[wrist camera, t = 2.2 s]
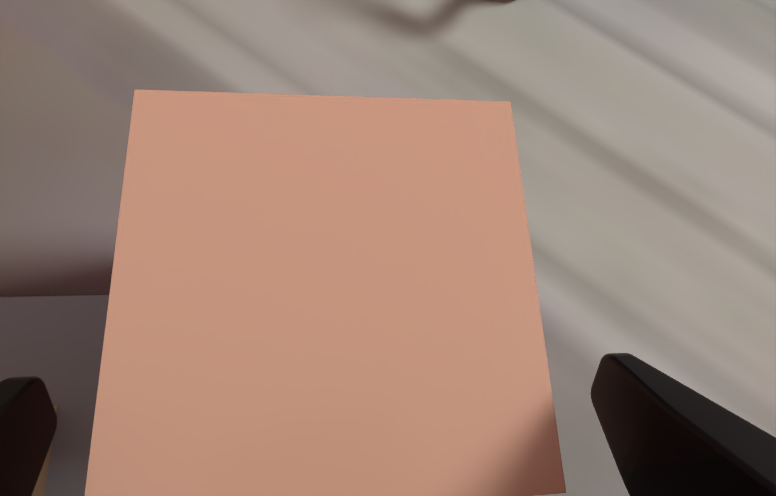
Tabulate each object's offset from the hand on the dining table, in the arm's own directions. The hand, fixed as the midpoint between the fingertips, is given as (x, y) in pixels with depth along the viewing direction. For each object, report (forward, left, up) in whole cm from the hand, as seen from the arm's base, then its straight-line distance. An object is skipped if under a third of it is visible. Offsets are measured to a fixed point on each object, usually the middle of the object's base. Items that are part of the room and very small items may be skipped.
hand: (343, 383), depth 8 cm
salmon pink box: (+2, -1, -9) cm, 9 cm away
